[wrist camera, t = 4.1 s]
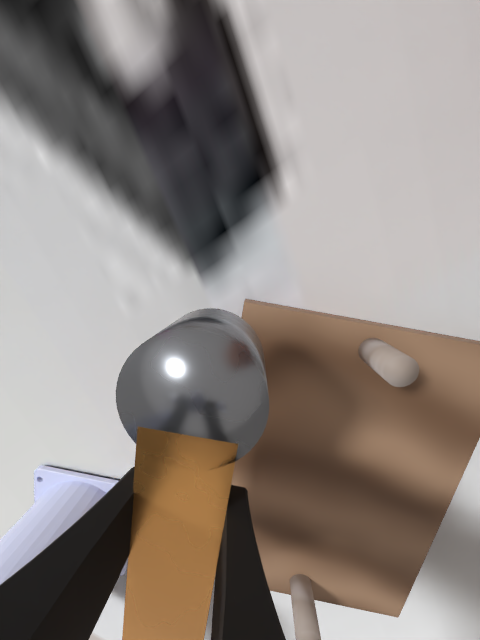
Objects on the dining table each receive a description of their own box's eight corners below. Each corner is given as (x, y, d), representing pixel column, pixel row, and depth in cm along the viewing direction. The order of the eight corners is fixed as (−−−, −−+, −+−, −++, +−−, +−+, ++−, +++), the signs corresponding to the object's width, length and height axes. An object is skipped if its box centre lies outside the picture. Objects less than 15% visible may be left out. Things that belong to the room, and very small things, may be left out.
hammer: (226, 563, 13) (216, 673, 9) (143, 548, 13) (103, 651, 9) (272, 317, 10) (282, 344, 6) (165, 300, 10) (119, 317, 6)
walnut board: (388, 591, 20) (424, 682, 16) (199, 552, 21) (184, 630, 16) (493, 343, 15) (587, 373, 11) (245, 298, 16) (241, 310, 11)
